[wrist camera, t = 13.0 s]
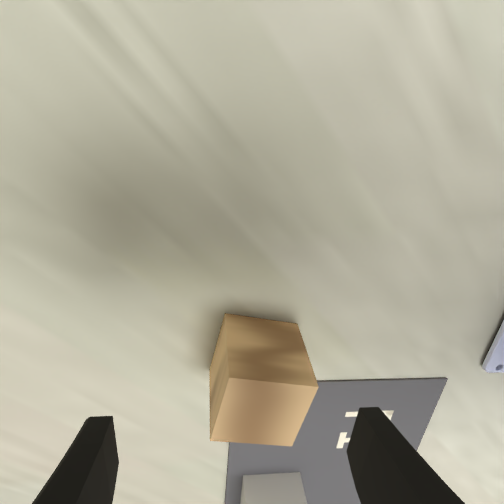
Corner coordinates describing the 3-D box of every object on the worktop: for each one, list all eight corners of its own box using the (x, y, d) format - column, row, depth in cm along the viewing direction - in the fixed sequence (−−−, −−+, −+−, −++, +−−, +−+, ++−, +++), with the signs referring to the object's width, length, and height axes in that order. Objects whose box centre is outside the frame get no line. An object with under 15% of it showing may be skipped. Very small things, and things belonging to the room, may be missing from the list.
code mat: (446, 377, 26) (447, 379, 26) (393, 501, 33) (394, 503, 33) (233, 383, 24) (234, 384, 24) (224, 513, 31) (224, 515, 31)
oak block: (297, 323, 23) (318, 386, 18) (276, 376, 25) (291, 446, 20) (224, 312, 22) (229, 377, 18) (209, 369, 24) (210, 440, 19)
